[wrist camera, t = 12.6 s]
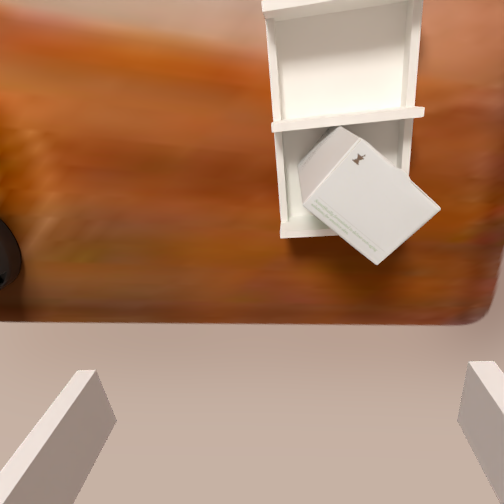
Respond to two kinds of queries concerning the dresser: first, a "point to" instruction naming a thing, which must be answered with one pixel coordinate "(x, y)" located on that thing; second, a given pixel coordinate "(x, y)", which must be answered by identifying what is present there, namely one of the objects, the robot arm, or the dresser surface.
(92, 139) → the dresser surface
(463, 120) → the dresser surface
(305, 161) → the skincare box
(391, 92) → the caddy rack
